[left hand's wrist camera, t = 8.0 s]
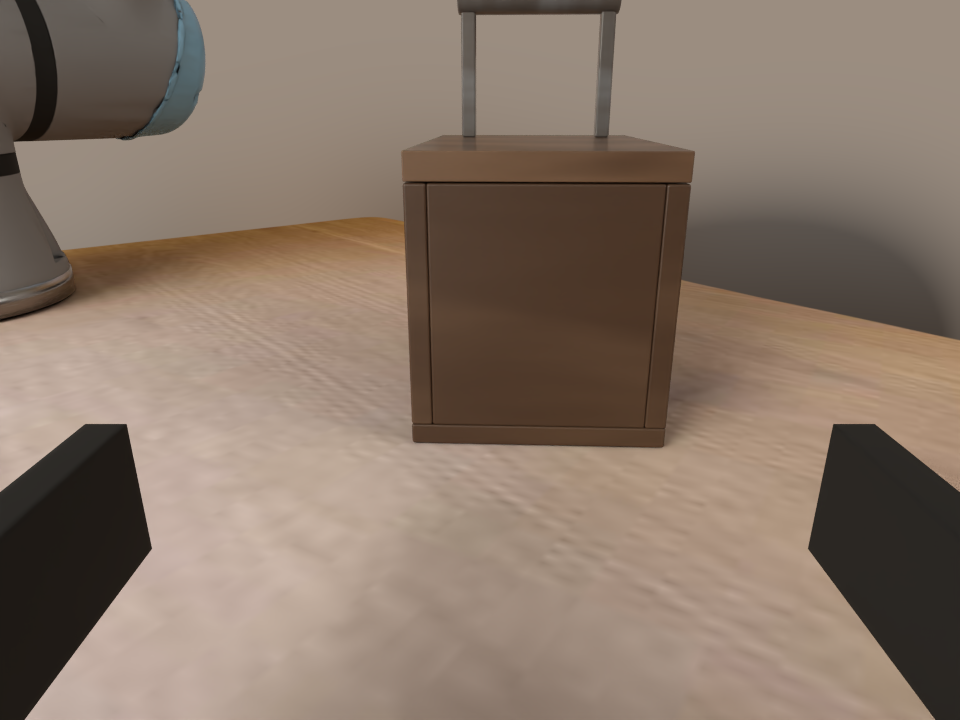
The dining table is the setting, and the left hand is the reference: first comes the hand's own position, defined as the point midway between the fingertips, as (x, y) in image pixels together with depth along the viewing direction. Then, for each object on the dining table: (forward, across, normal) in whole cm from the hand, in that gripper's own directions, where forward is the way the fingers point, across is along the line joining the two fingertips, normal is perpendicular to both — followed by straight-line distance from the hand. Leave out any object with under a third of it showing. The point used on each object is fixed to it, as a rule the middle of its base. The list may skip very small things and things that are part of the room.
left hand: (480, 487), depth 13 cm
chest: (+21, +3, -6) cm, 22 cm away
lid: (+21, +3, +4) cm, 21 cm away
